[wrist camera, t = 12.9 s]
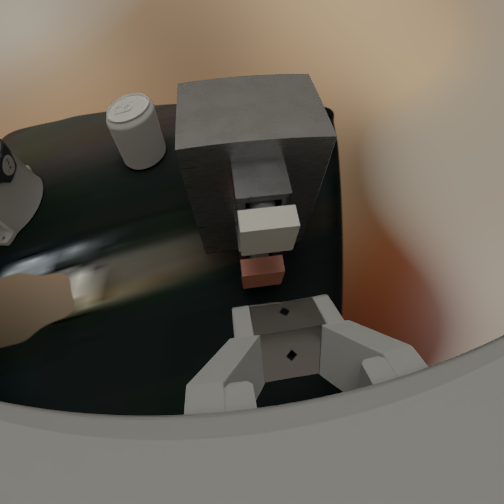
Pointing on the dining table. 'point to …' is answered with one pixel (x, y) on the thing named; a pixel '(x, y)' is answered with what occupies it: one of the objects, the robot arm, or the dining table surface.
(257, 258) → the brown block
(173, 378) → the dining table surface
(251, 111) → the box
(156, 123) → the beverage can
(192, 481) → the robot arm
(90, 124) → the dining table surface
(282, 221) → the white key
